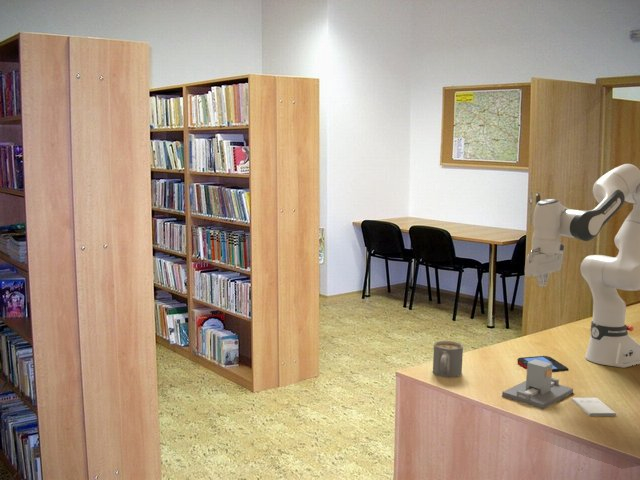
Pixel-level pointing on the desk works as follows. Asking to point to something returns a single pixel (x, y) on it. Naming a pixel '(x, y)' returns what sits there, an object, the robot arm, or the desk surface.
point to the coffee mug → (447, 358)
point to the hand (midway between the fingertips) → (542, 286)
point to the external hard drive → (593, 407)
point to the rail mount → (538, 394)
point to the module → (539, 375)
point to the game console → (555, 364)
